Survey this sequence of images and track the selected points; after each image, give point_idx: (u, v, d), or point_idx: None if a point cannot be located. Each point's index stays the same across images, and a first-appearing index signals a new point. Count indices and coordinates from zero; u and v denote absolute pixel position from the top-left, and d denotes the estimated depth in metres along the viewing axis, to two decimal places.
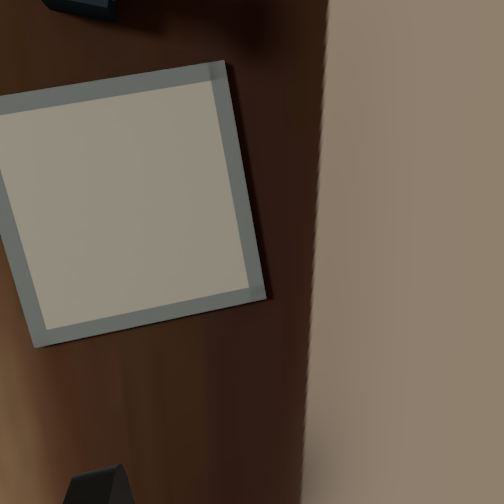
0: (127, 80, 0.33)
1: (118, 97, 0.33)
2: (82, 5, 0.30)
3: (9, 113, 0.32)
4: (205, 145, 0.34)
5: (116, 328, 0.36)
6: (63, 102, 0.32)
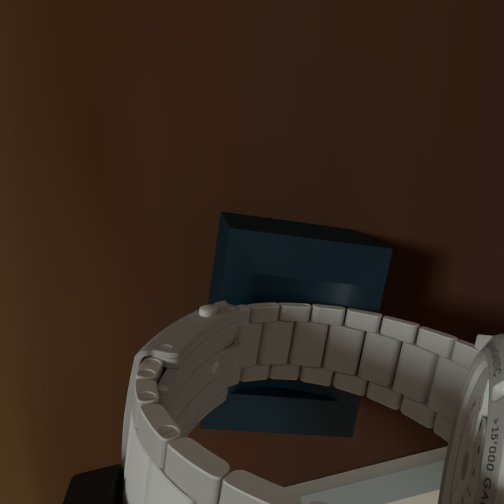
0: (342, 493, 0.17)
1: None
2: None
3: None
4: None
5: None
6: None
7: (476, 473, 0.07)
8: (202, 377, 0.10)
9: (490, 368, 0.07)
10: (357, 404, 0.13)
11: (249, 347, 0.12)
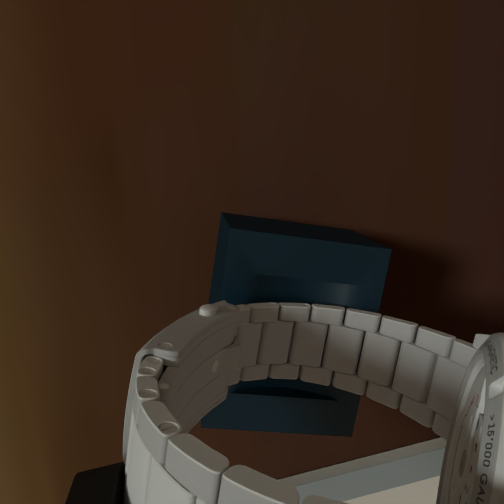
0: (331, 484, 0.18)
1: None
2: None
3: None
4: None
5: None
6: None
7: (473, 470, 0.07)
8: (202, 376, 0.10)
9: (487, 366, 0.07)
10: (357, 403, 0.13)
11: (249, 346, 0.12)
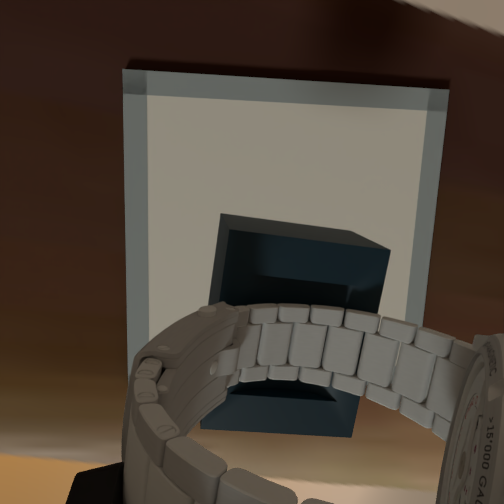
0: (130, 205, 0.25)
1: (149, 221, 0.26)
2: None
3: None
4: (230, 124, 0.25)
5: (423, 289, 0.29)
6: (145, 286, 0.26)
7: (472, 472, 0.07)
8: (201, 377, 0.10)
9: (486, 367, 0.07)
10: (356, 404, 0.13)
11: (248, 347, 0.12)
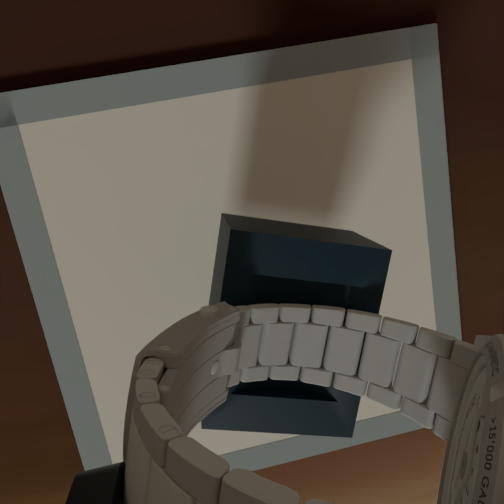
0: (35, 275, 0.19)
1: (66, 290, 0.19)
2: None
3: (108, 449, 0.21)
4: (142, 139, 0.18)
5: (454, 298, 0.21)
6: (83, 374, 0.20)
7: (474, 472, 0.07)
8: (203, 378, 0.10)
9: (488, 368, 0.07)
10: (357, 404, 0.13)
11: (249, 348, 0.12)
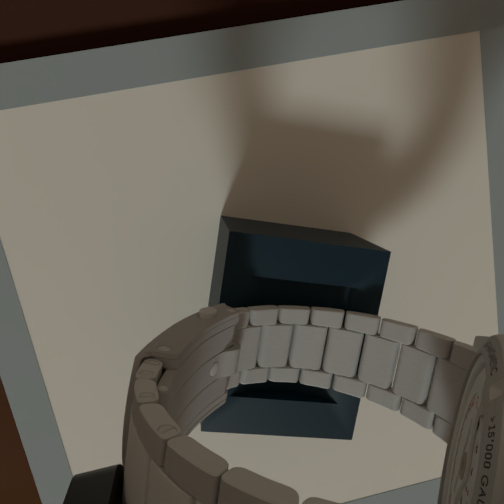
0: None
1: (32, 332, 0.15)
2: None
3: None
4: (130, 135, 0.14)
5: None
6: (56, 438, 0.15)
7: (474, 472, 0.07)
8: (202, 378, 0.10)
9: (487, 367, 0.07)
10: (357, 406, 0.13)
11: (248, 350, 0.12)
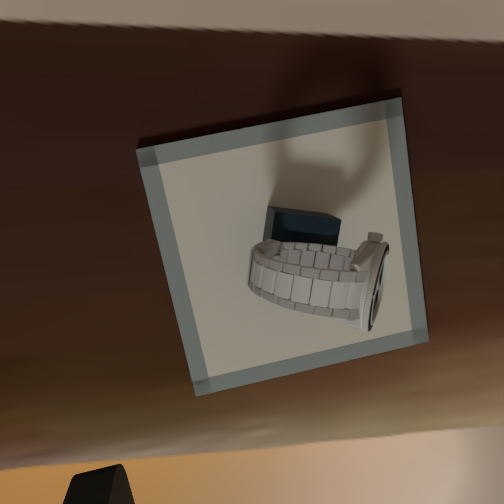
0: (165, 250, 0.32)
1: (182, 260, 0.32)
2: None
3: (203, 357, 0.34)
4: (227, 170, 0.31)
5: (417, 264, 0.34)
6: (190, 311, 0.33)
7: None
8: None
9: None
10: None
11: (283, 258, 0.29)
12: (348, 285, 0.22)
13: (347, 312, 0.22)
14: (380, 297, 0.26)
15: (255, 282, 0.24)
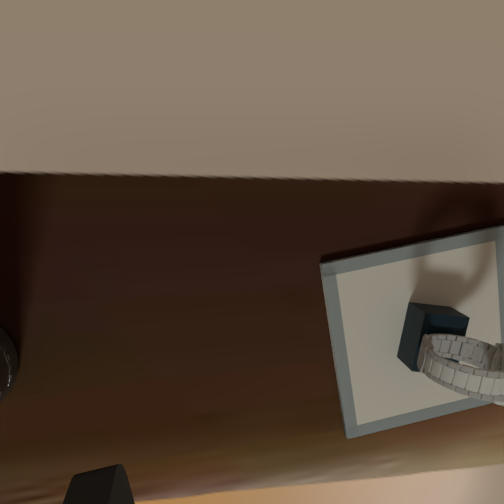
0: (335, 334, 0.43)
1: (346, 340, 0.44)
2: None
3: (355, 410, 0.45)
4: (383, 278, 0.43)
5: None
6: (349, 377, 0.45)
7: (497, 370, 0.36)
8: None
9: (499, 349, 0.36)
10: None
11: None
12: None
13: (501, 397, 0.34)
14: None
15: (434, 373, 0.36)
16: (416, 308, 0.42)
